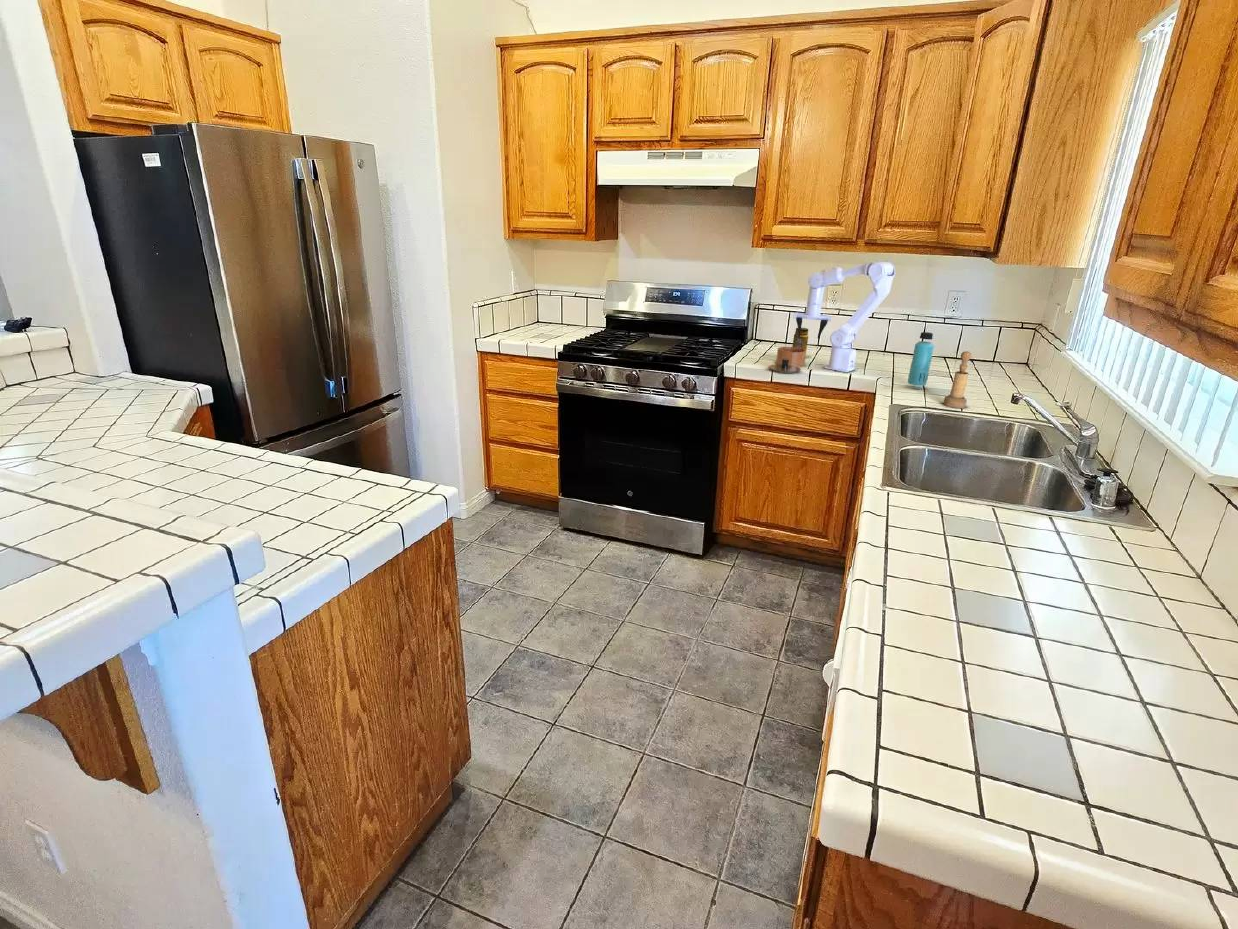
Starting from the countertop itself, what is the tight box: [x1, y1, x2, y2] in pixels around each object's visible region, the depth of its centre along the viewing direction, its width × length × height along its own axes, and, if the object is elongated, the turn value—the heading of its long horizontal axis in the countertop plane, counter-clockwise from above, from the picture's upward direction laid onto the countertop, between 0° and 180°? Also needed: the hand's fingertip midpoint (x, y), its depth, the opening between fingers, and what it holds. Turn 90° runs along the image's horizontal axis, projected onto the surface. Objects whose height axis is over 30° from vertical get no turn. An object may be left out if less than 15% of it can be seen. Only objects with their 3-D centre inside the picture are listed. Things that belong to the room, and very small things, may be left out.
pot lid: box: [768, 358, 801, 374], centre depth 253 cm, size 12×12×4 cm
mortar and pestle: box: [943, 351, 972, 409], centre depth 212 cm, size 7×6×18 cm
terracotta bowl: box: [775, 346, 807, 368], centre depth 265 cm, size 11×11×6 cm
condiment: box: [791, 327, 810, 358], centre depth 278 cm, size 7×8×12 cm
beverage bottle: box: [907, 331, 935, 387], centre depth 232 cm, size 6×7×20 cm
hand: (808, 337), depth 266 cm, fingers open, 7 cm apart
